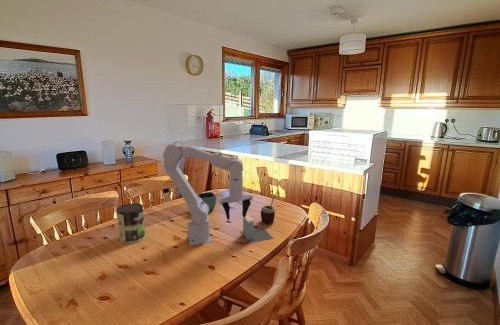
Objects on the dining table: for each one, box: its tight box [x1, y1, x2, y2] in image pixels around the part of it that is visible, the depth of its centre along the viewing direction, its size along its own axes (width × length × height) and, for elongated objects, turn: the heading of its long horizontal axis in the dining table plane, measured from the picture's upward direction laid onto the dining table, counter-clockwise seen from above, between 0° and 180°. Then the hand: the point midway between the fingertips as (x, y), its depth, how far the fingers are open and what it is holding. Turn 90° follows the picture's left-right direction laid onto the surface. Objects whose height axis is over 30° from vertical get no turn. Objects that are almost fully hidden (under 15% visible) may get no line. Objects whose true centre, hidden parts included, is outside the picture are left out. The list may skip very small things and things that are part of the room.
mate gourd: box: [260, 192, 278, 225], centre depth 129 cm, size 8×8×15 cm
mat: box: [239, 227, 275, 244], centre depth 117 cm, size 12×11×1 cm
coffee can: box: [116, 202, 146, 244], centre depth 112 cm, size 10×10×14 cm
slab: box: [242, 214, 255, 240], centre depth 115 cm, size 3×6×9 cm, turn 21°
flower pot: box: [196, 191, 217, 212], centre depth 143 cm, size 9×9×9 cm
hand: (236, 217), depth 111 cm, fingers open, 7 cm apart
